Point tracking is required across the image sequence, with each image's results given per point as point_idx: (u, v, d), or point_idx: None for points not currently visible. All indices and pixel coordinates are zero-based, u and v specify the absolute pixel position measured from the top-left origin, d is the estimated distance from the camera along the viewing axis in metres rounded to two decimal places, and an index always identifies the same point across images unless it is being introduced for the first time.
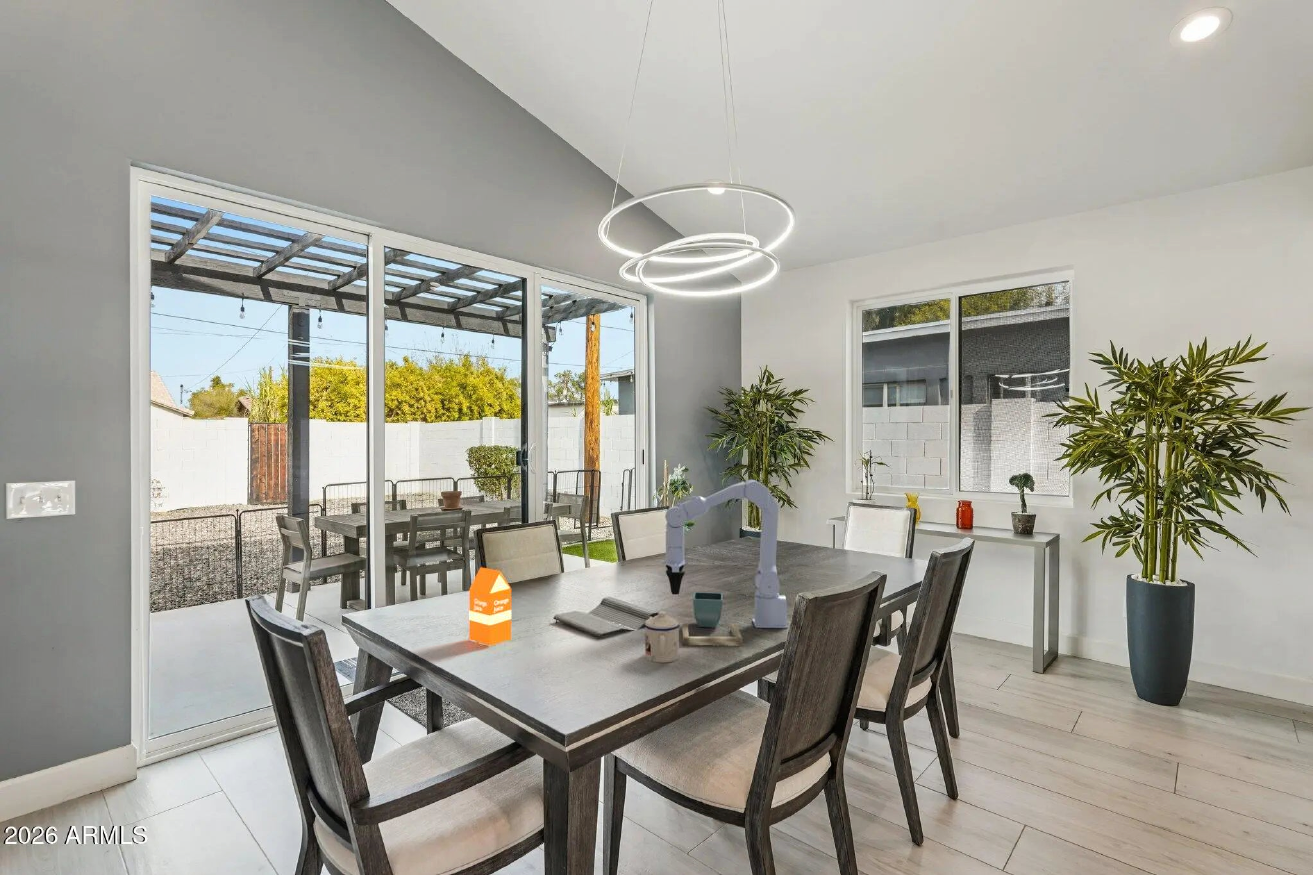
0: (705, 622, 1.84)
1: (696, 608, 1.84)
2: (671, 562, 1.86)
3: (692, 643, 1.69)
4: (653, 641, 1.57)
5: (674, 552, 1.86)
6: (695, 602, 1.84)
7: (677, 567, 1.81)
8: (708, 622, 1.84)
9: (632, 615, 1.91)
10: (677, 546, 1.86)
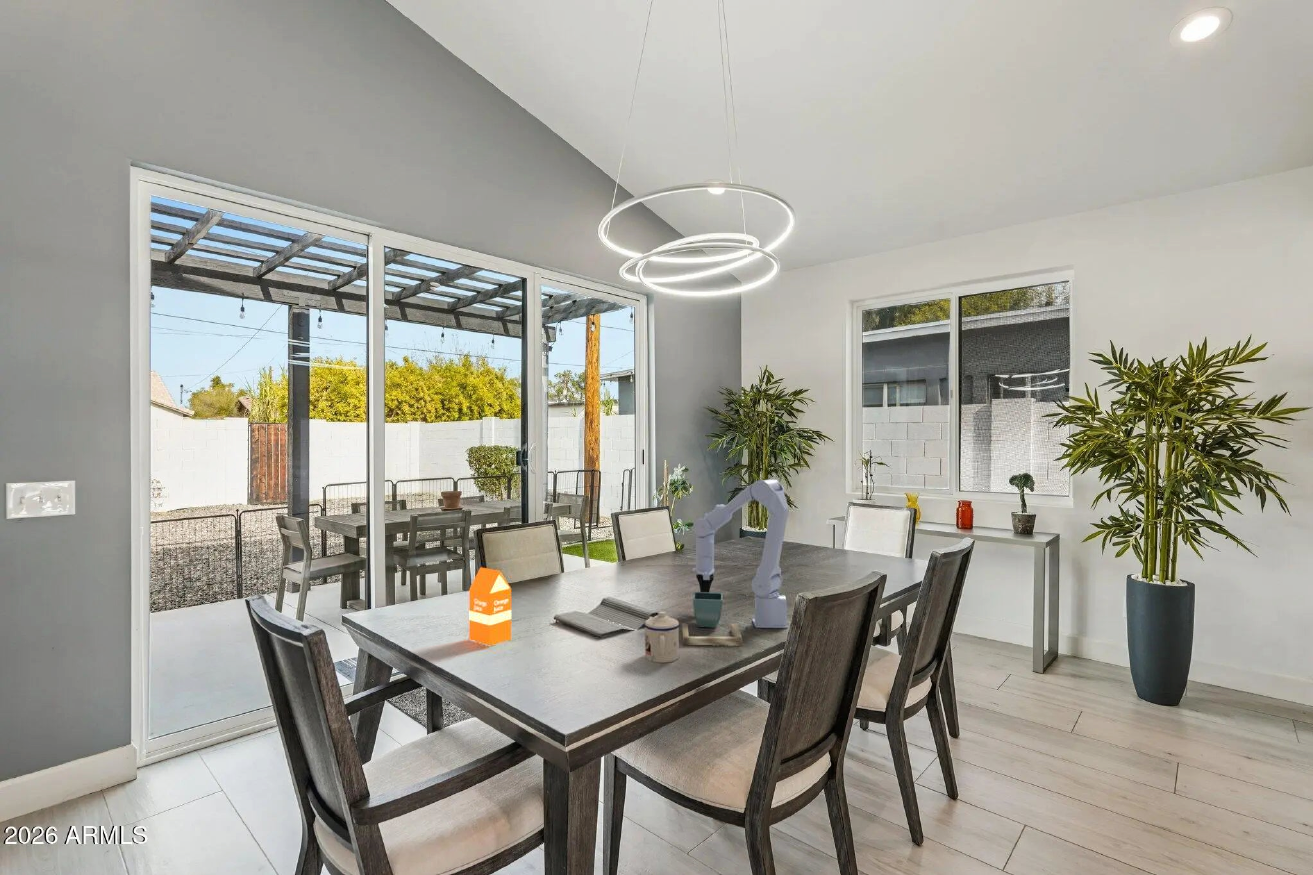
0: (705, 622, 1.84)
1: (696, 608, 1.84)
2: (702, 570, 1.98)
3: (692, 643, 1.69)
4: (653, 641, 1.57)
5: (705, 561, 1.98)
6: (695, 602, 1.84)
7: (708, 575, 1.93)
8: (708, 622, 1.84)
9: (632, 615, 1.91)
10: (702, 555, 1.98)
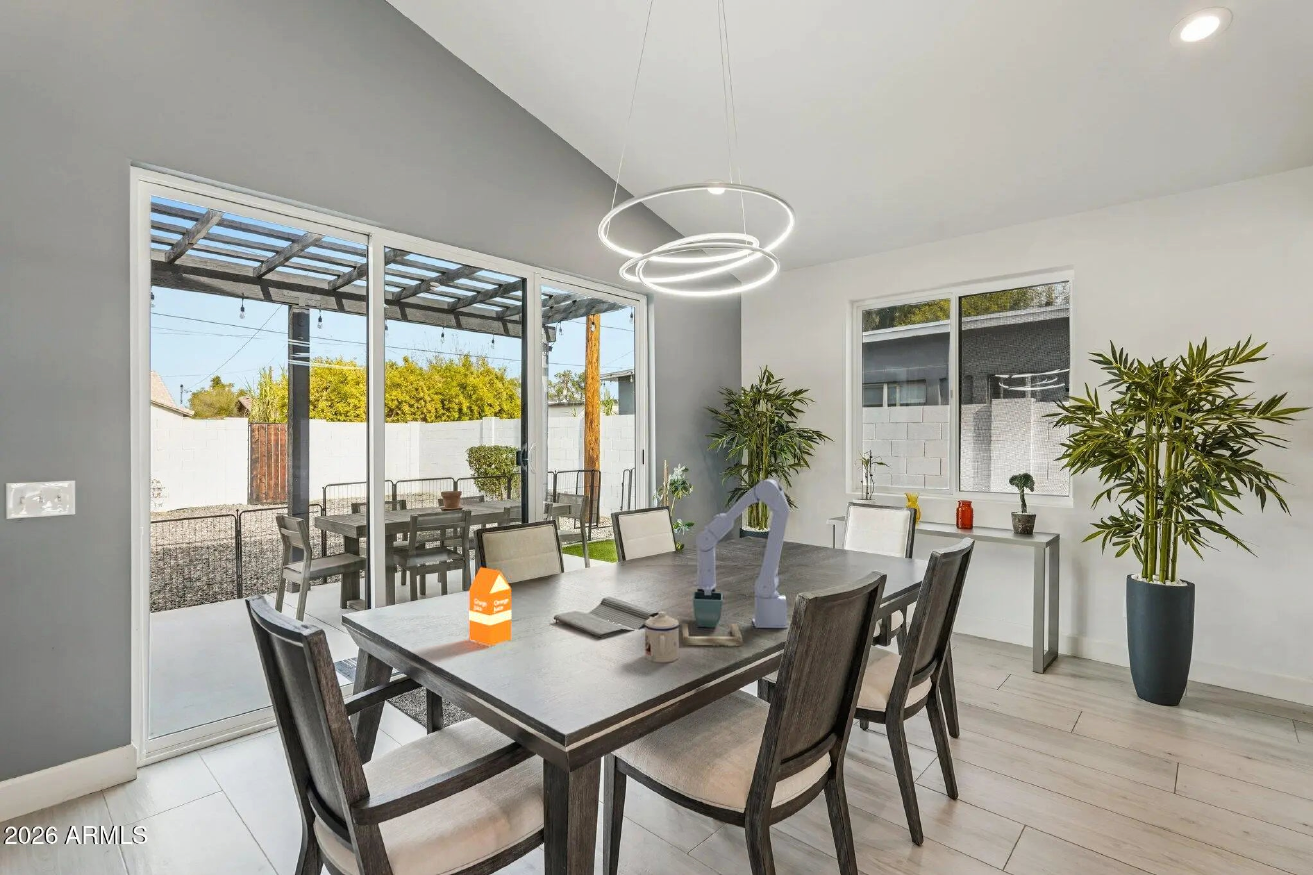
0: (705, 622, 1.84)
1: (696, 608, 1.84)
2: (703, 585, 1.92)
3: (692, 643, 1.69)
4: (653, 641, 1.57)
5: (706, 575, 1.92)
6: (695, 602, 1.83)
7: (709, 590, 1.87)
8: (708, 622, 1.84)
9: (631, 615, 1.91)
10: (706, 569, 1.92)
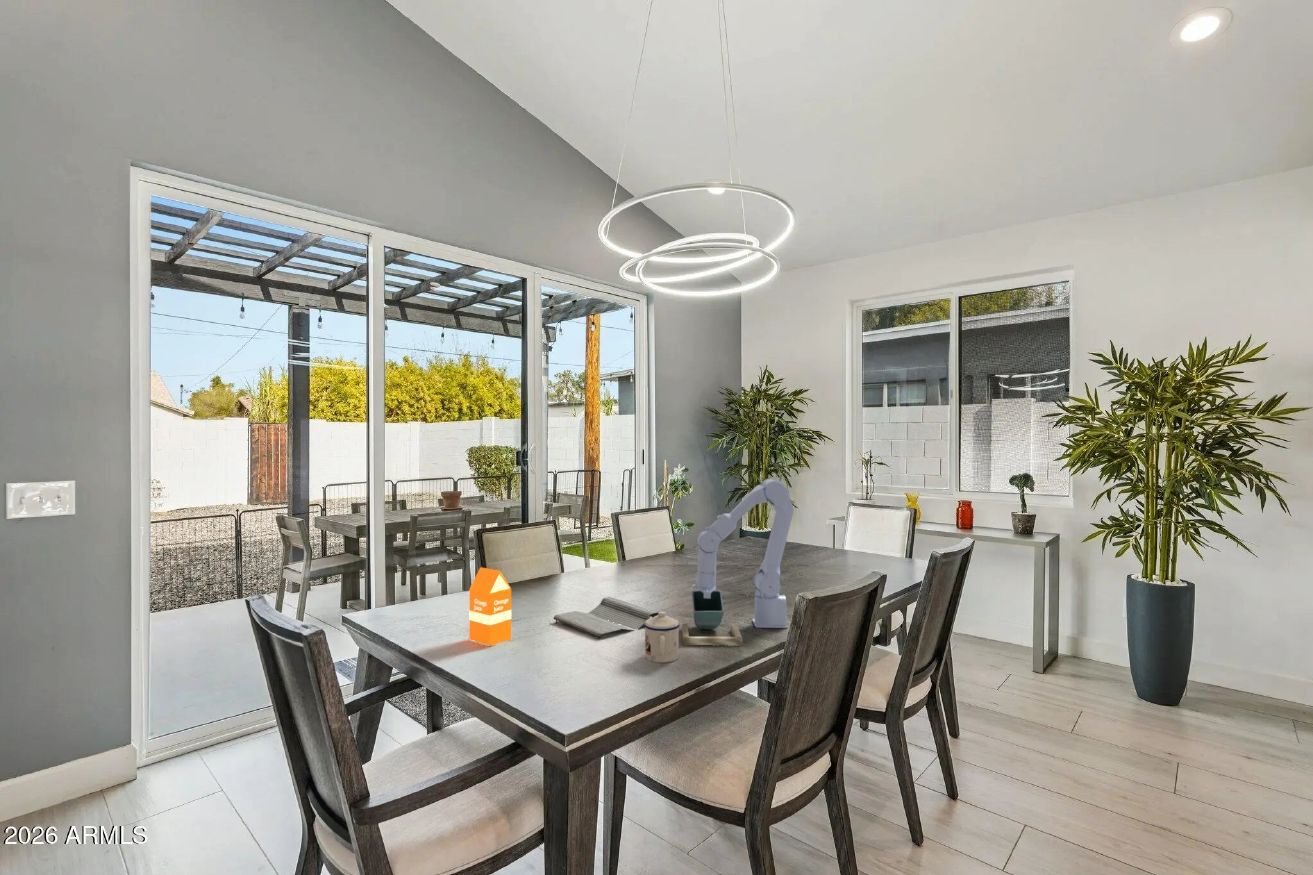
0: (705, 626, 1.82)
1: (696, 618, 1.79)
2: (702, 587, 1.85)
3: (692, 643, 1.69)
4: (653, 641, 1.57)
5: (706, 577, 1.85)
6: (696, 614, 1.78)
7: (709, 593, 1.81)
8: (708, 626, 1.82)
9: (631, 615, 1.91)
10: (710, 571, 1.85)
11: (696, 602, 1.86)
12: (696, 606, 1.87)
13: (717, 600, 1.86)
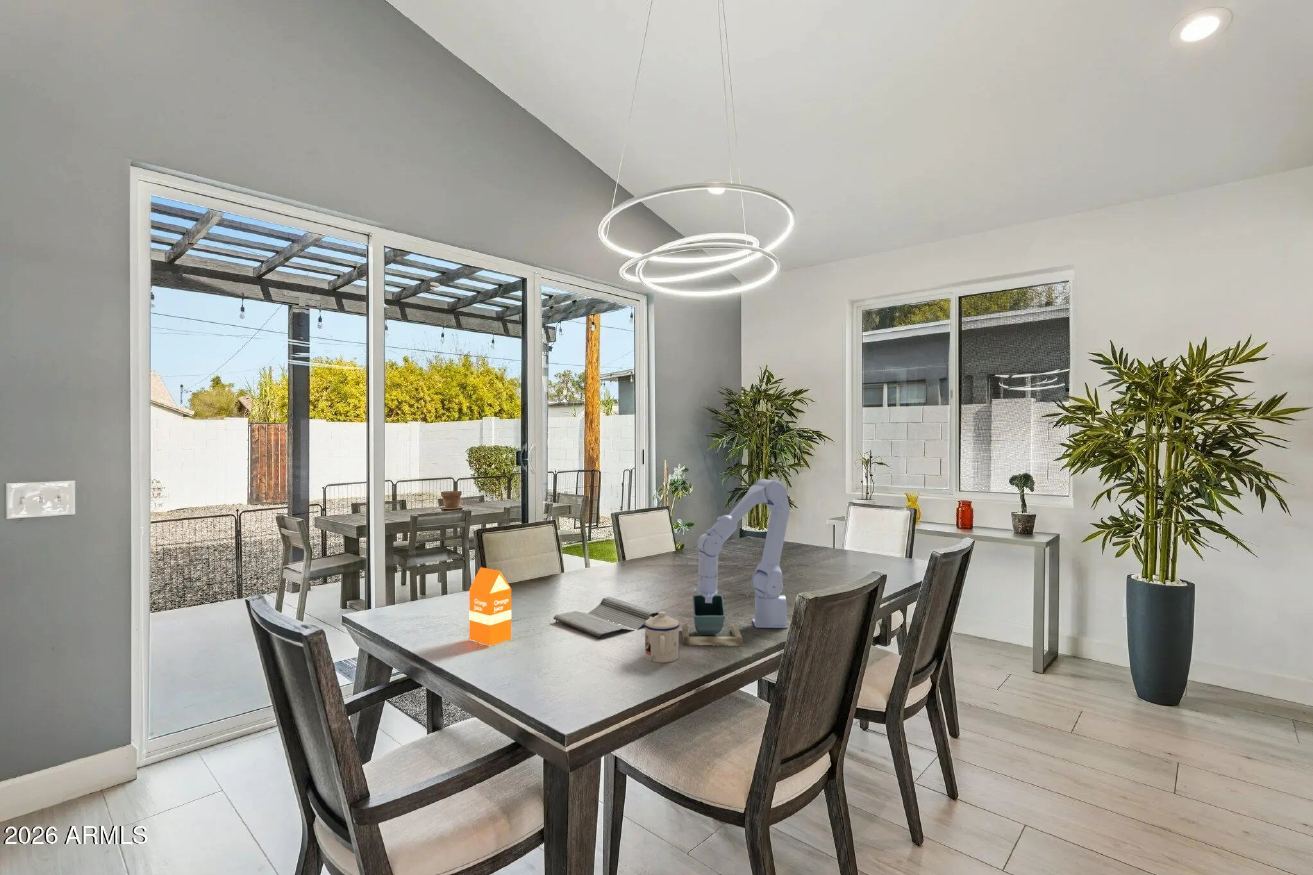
0: (706, 632, 1.77)
1: (697, 623, 1.74)
2: (704, 592, 1.80)
3: (692, 643, 1.69)
4: (653, 641, 1.57)
5: (707, 581, 1.80)
6: (696, 619, 1.73)
7: (710, 598, 1.76)
8: (709, 632, 1.77)
9: (631, 615, 1.91)
10: (713, 575, 1.80)
11: (697, 607, 1.81)
12: (697, 611, 1.82)
13: (719, 605, 1.81)
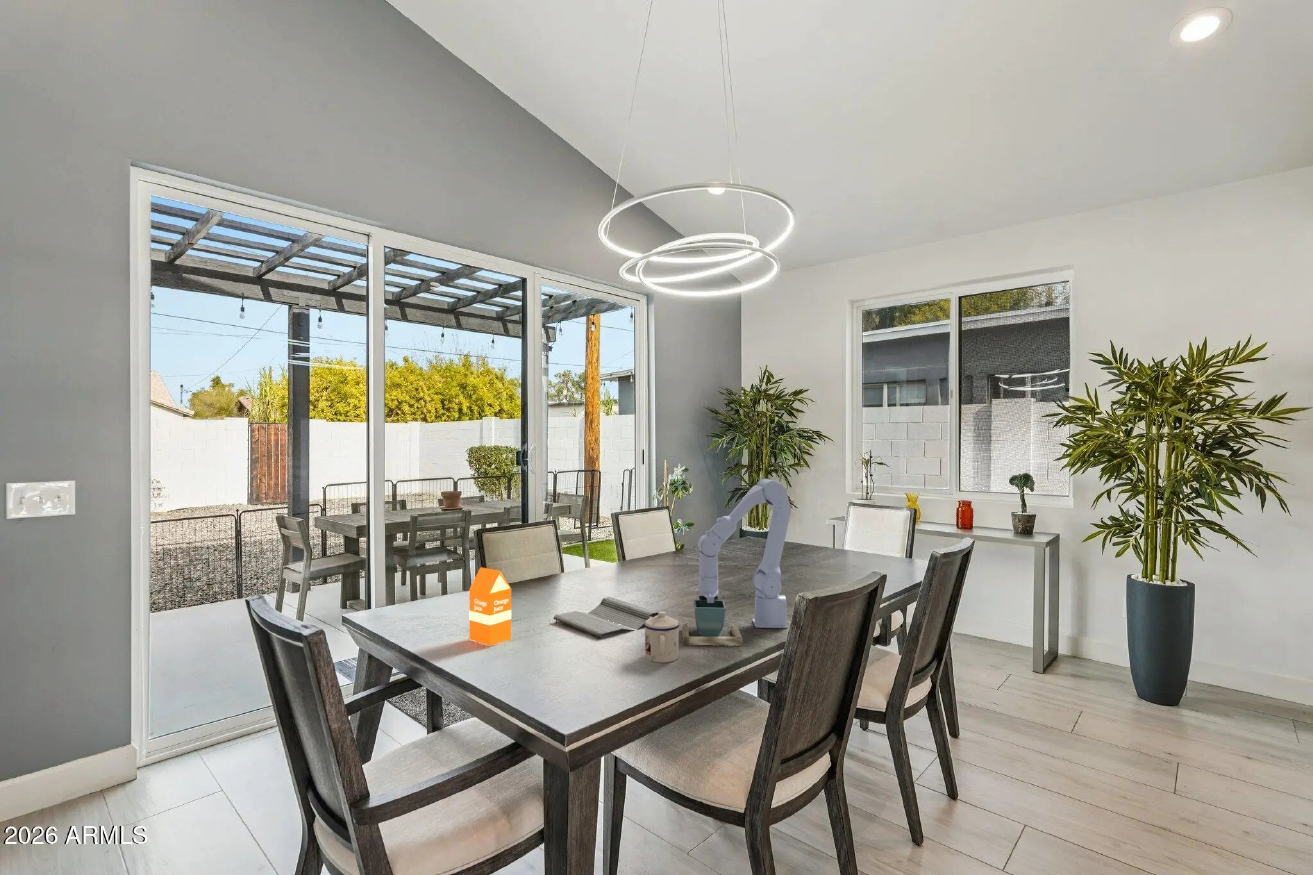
0: (707, 631, 1.75)
1: (697, 616, 1.75)
2: (705, 592, 1.83)
3: (692, 643, 1.69)
4: (653, 641, 1.57)
5: (708, 582, 1.83)
6: (697, 611, 1.74)
7: (712, 598, 1.79)
8: (710, 631, 1.75)
9: (631, 615, 1.91)
10: (712, 575, 1.83)
11: None
12: None
13: None
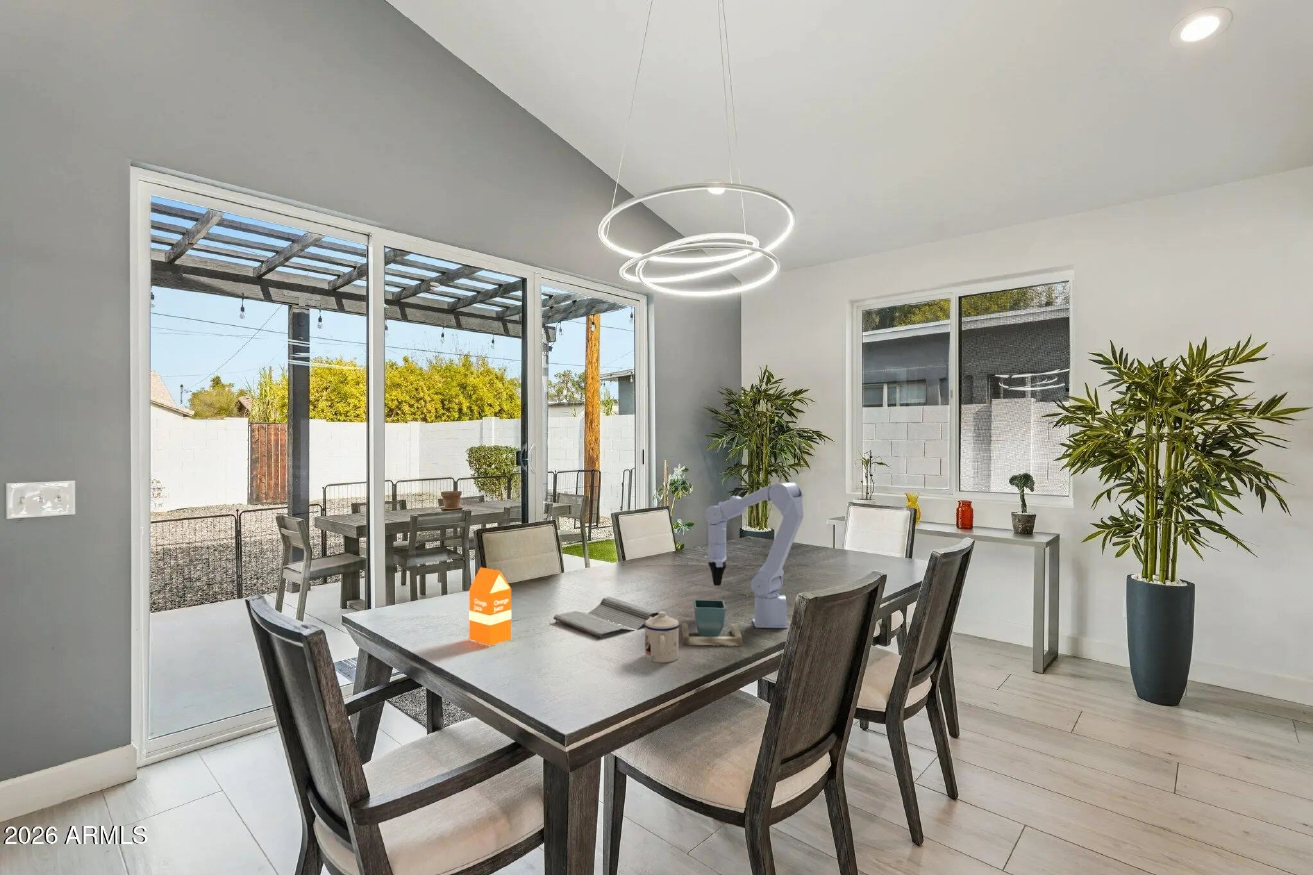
0: (707, 631, 1.75)
1: (697, 617, 1.75)
2: (714, 558, 1.97)
3: (692, 643, 1.69)
4: (653, 641, 1.57)
5: (717, 548, 1.97)
6: (697, 611, 1.74)
7: (721, 562, 1.92)
8: (710, 631, 1.75)
9: (631, 615, 1.91)
10: (714, 542, 1.97)
11: None
12: None
13: None
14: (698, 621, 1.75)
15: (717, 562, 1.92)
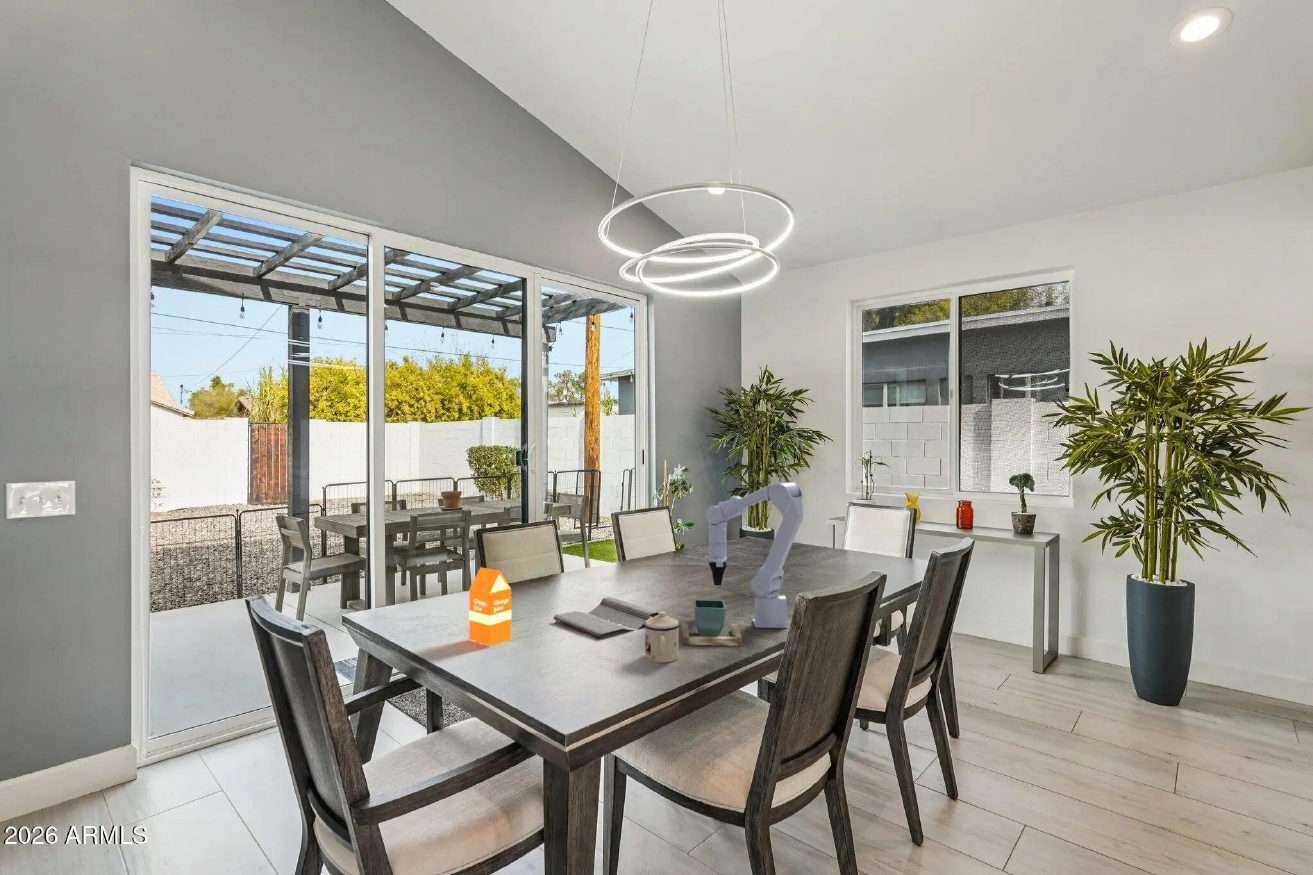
0: (707, 631, 1.75)
1: (697, 617, 1.75)
2: (714, 557, 1.97)
3: (692, 643, 1.69)
4: (653, 641, 1.57)
5: (717, 548, 1.97)
6: (697, 611, 1.74)
7: (721, 562, 1.92)
8: (710, 631, 1.75)
9: (631, 615, 1.91)
10: (714, 542, 1.97)
11: None
12: None
13: None
14: (698, 621, 1.75)
15: (717, 562, 1.92)
